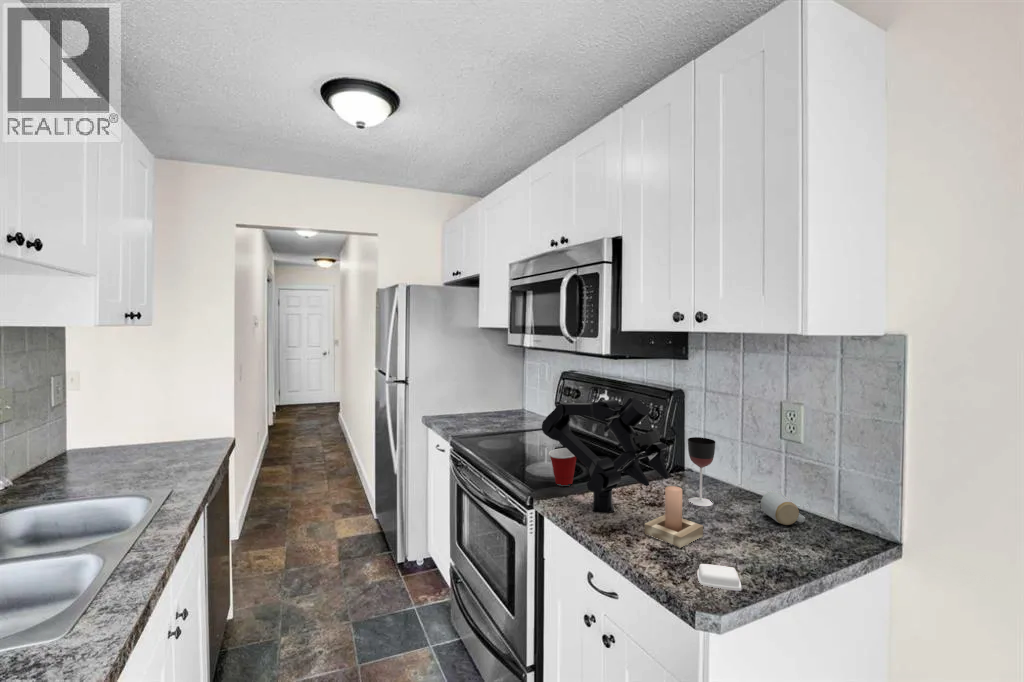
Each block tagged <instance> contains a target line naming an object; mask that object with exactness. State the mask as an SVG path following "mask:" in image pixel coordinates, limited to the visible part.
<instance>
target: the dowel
mask: <svg viewBox="0 0 1024 682" xmlns="http://www.w3.org/2000/svg"><path fill="white" fill-rule="evenodd" d="M664 490H665V491H664V494H665V496H664V499H665V500H664V507H665V508H664V513H665V514H664V515H665V528H668V529H671V530H673V531H676V532H679V531H681V530H682V519H683V489H682V488H681V487H679V486H674V485H668V486H666V487H665V488H664Z"/></svg>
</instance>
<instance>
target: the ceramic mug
mask: <svg viewBox="0 0 1024 682" xmlns="http://www.w3.org/2000/svg"><path fill="white" fill-rule="evenodd" d="M760 507H761V510H762V512H764V514H766V515H767V516H768V517H769V518H771V519H773V520H774V521H775V522H776V523H779V524H781V525H783V526H791V525H793V524H795V523H796V522H800V523H804V522H805V520H806V517H805V516H804V515H803V514H801V513H800V510H799V508H798V506H797V504H795V503H794V502H793V501H792V500H791V499H789V498H788V497H786V496H785V495H784V494H783V493H782V492H780V491H777V490H769V491H767V492H765V494H763V496H762V497H761V500H760Z"/></svg>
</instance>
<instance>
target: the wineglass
mask: <svg viewBox="0 0 1024 682" xmlns="http://www.w3.org/2000/svg"><path fill="white" fill-rule="evenodd" d="M687 448H688V449H687V450H688V456H689V458H690V461H691V462H692V463H693V464H694V465H695V466H697V467H698V468H699V497H690V498H688V500H689V501H688V503H690V502H691V503H690V504H692V503H693V504H692V505H694V506H697V507H698V506H699V507H710V506H713V505H714V502H713V501H712V500H711V499H708V498H703V468H705V467H708V466H710V465H711V464H712V462H713V460H714V458H715V451H716V441H715V440H714V439H711V438H708V437H701V436H700V437H699V436H698V437H697V436H695V437H694V436H693V437H689V438H687ZM710 500H711V501H712V502H713V503H712V502H711V501H710Z"/></svg>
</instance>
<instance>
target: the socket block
mask: <svg viewBox="0 0 1024 682" xmlns="http://www.w3.org/2000/svg"><path fill="white" fill-rule="evenodd" d="M645 534H648V535H650V536H653V537H655V538H658V539H661V540H663V541H666V542H668V543H671V544H673V545H675V546H678V547H680V548H681V547H683V546H685V545H687V544H689V543H691V542H692V543H694V542H696V541H698V540H700V539H702V538H703V537H704V525H702V524H699V523H697V522H695V521H690V520H687V519H685V518H682V530H681V531H679V532H676V531H673V530H671V529H668V528H665V514H663V515H660V516H659V517H656V518H654V519H652V520H650V521H648V522H646V523H644V535H645ZM650 536H649V537H650ZM655 538H654V539H655ZM699 538H700V539H699ZM697 539H698V540H697ZM695 540H696V541H695ZM693 541H694V542H693ZM692 543H691V544H692ZM689 545H690V544H689ZM675 546H674V547H675ZM687 546H688V545H687ZM685 547H686V546H685ZM680 548H679V549H680ZM683 548H684V547H683Z"/></svg>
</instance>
